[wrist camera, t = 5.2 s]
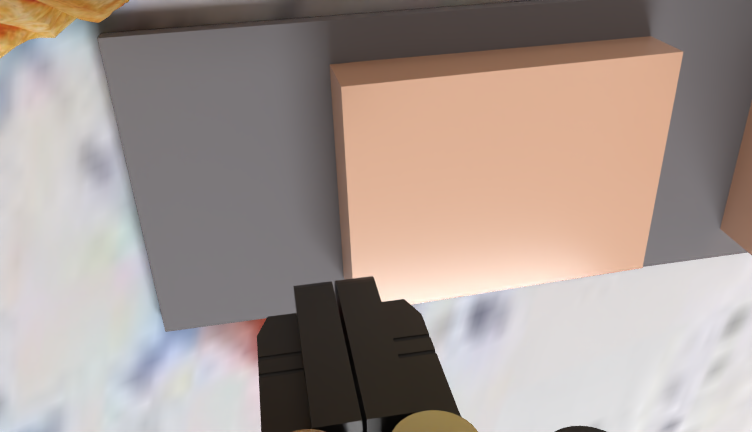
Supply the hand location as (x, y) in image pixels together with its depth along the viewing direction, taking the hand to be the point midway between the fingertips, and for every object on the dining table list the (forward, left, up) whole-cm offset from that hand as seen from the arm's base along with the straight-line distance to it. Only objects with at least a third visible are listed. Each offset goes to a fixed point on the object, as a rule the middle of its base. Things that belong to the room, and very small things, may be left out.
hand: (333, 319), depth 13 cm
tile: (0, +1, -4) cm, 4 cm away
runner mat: (0, +9, -6) cm, 10 cm away
